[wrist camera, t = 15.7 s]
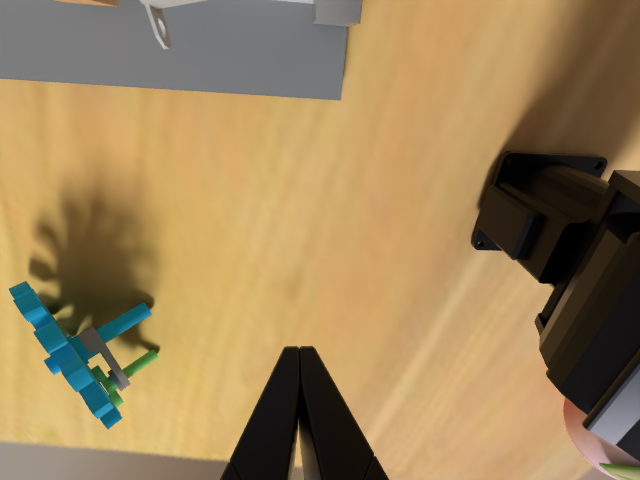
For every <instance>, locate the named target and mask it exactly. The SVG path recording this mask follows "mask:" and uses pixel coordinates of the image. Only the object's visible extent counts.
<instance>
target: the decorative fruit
mask: <svg viewBox="0 0 640 480" xmlns="http://www.w3.org/2000/svg"><path fill="white" fill-rule="evenodd" d="M563 412H564V420H565V425H566V429H567V431H568V434H569V436H570V438H571V440H572V442H573V443H574V445H575V446H576V448H577V449H578V451H579V452H580V453H581V454H582V455H583V456H584V457H585V458H586V459H587V460H588V461H589V462H590V463H591V464H592V465H593V466H594V467H596V468H597V469H599V470H600V471H602V472H603V473H605V474H606V475H609V476H610V477H612V478H615V479H617V480H640V462H639V461H638V460H636V459H635V458H633V457H632V456H630V455H629V454H628V453H626V452H625V451H623V450H622V449H620V448H619V447H617V446H616V445H614V444H612V443H611V442H609V441H607V440H605V439H603V438H601V437H599V436H597V435H595V434H593V433H592V432H590V431H588V430H586V429H585V428H584V427H583V425H582V422H583V420H584V419H585V418H586V416H587V415H586V414H585V413H583V412H582V411H581V410H579V409H578V408H577V407H575V406H574V405H573V404H572V403H571V402H570V401H569V400H568V399H567V398H566V397H565V401H564V409H563Z"/></svg>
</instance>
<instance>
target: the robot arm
mask: <svg viewBox="0 0 640 480" xmlns="http://www.w3.org/2000/svg"><path fill="white" fill-rule="evenodd" d="M511 157H512V158H511ZM509 158H511V161H510V162H509V163H507V160H508V159H509ZM596 163H597V165H596V166H595V164H596ZM606 165H607V160H606V158H603V157H601V156H597V155H579V154H559V153H540V152H521V151H507V152H505V153H503V154H502V155H501V156H500V158H499V161H498V164H497V167H496V170H495V173H494V175H493V178H492V181H491V184H490V187H489V188H488V190H487V192H486V195H485V198H484V201H483V204H482V207H481V210H480V213H479V216H478V219H477V222H476V224H477V225H476V228H475V231H474V234H473V237H472V240H471V244H472V246H473V247H474V248H475V249H476V250H497V251H504V252H505V253H506V254H507V255H508V256H509V257H510V258H511V259H512V260H516V261H517V262H518V263H520V264H521V265H522V266H523V267H524V268H525V269H526V270H527V271H528V272H529V273H530V274H531V275H532V276H533V277H534V278H535V279H536V280H537V281H538V282H539V283H542V284H549V285H550V286H551V287H553V288H554V290H553V292H552V294H551V296H550V298H549V299H548V301H547V303H546V305H545V307H544V309H543V311H542V313H539V314H538V315H537V317H536V319H535V325H536V327H537V330H538V332H539V335H540V345H539V350H540V352H541V354H542V357H543V359H544V361H545V364H546V366H547V367H548V370H547V371H546V375H547V377H548V378H549V379H550V381H551V382H552V383H553V384H554V385H555V387H556V388H557V389H558V390H559V391H560V393H561V394H562V395H563V396H565V397H566V398H567V399H568V400H569V401H570V402H571V403H572V404H573V405H574V406H575V407H577V408H578V409H579V410H581V411H582V412H583V413H585V414H586V415H587V416H586V418H585V419H584V420H583V422H582V425H583V427H584V428H585V429H586V430H588V431H590V432H592V433H593V434H595V435H597V436H599V437H601V438H603V439H605V440H607V441H609V442H611V443H612V444H614V445H616V446H617V447H619V448H620V449H622V450H623V451H625V452H626V453H628V454H629V455H630V456H632V457H633V458H635V459H636V460H638V461H639V462H640V171H626V170H614V171H613V173H612V175H611V177H610V179H609V181H608V182H607V181H605V180H603V179H600V177H601V175H602V173H603V172H604V170H605V168H606ZM594 166H595V167H594ZM481 240H482V242H481V243H479V244H478V242H479V241H481ZM298 425H299V438H300V447H301V455H302V464H303V472H304V480H389V478H388V477H387V475H386V473H385V472H384V470H383V468H382V466H381V465H380V463H379V461H378V459H377V457H376V456H374V452H373V451H372V449H371V447H370V445H369V443H368V442H367V440H366V438H365V436H364V435H363V433H362V431H361V429H360V427H359V426H358V424H357V422H356V420H355V418H354V417H353V415H352V413H351V411H350V410H349V408H348V406H347V404H346V402H345V401H344V399H343V397H342V395H341V394H340V392H339V390H338V388H337V386H336V385H335V383H334V381H333V379H332V378H331V376H330V374H329V372H328V370H327V369H326V367H325V365H324V363H323V361H322V360H321V358H320V356H319V354H318V353H317V351H316V349H315V348H314V347H313V346H301V347H300V348H299V347H297V346H286V347H284V349H283V351H282V353H281V355H280V357H279V359H278V361H277V363H276V365H275V367H274V369H273V371H272V373H271V375H270V378H269V380H268V382H267V384H266V386H265V388H264V390H263V392H262V394H261V396H260V398H259V400H258V402H257V404H256V406H255V409H254V411H253V413H252V415H251V417H250V419H249V421H248V423H247V425H246V427H245V429H244V431H243V433H242V435H241V437H240V440H239V442H238V444H237V446H236V448H235V450H234V452H233V454H232V456H231V458H230V462H229V463H228V464H227V466H226V468H225V470H224V472H223V475H222V476H221V479H220V480H292V479H293V470H294V461H295V452H296V443H297V433H298Z"/></svg>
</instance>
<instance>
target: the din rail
mask: <svg viewBox="0 0 640 480" xmlns="http://www.w3.org/2000/svg"><path fill="white" fill-rule="evenodd" d="M117 1H118V6H119V7H115V6H103V5H91V4H80V3H68V2H61V1H56V0H0V79H14V80H30V81H46V82H61V83H77V84H93V85H108V86H124V87H140V88H155V89H171V90H187V91H202V92H218V93H234V94H249V95H265V96H281V97H296V98H312V99H328V100H341V92H342V82H343V71H344V60H345V49H346V38H347V27H351V26H354V25H356V24H359V23H360V20H361V10H362V1H363V0H206V1H200V2H195V3H189V4H184V5H178V6H173V7H167V8H162V11H163V15H164V18H165V22H166V25H167V28H168V32H169V35H170V42H171V47H170V48H169V49H163V47H162V46H161V44H160V43H159V41H158V40H157V38H156V37H155V34H154V31H153V28H152V25H151V22H150V19H149V16H148V13H147V10H146V7H145V5H144V4H142V3H141V1H140V0H117ZM158 27H159V29H160V31H161V34H162V36H163V32H162V29H161V27H160V25H159V22H158ZM163 38H164V37H163Z"/></svg>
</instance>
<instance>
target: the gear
mask: <svg viewBox="0 0 640 480" xmlns="http://www.w3.org/2000/svg"><path fill="white" fill-rule="evenodd" d="M9 291H10V293H11V295H12V296H13V297H14V299H15V300H13V301H14V303H15V304H16V306H17V307H18V309H19V311H20V312H21V313H22V315H23V316H24V317H25V319H26V320H27V321H28V322H29V321H30V322H31V324H32V325H33V326H34V327H35V329H36V331H34V332H33V333H34V335H35V336H36V337H37V339H38V340H39V342H40V343H41V345H42V346H43V347H44V349H45V350H46V351H47V353H48V354H50V356H51V357H49V358H47V359H46V360H44V362H45V364H46V365H47V367H48V368H49V369H50V371H51V372H52V373H53V374H54V375H55V374H56V373H58V372H59V371H61V372H62V374H63V376H64V377H65V379H66V380H67V381H68V383H69V384H70V385H71V386H72V388H73V389H74V390H75V391H76V392H78V391H79V393H80V394H81V396H82V397H83V399H84V401H85V403H86V404H87V406H88V408H89V409H90V411H91V412H92V413H93V415H94V416H95V417H96V418H97V419H99V418H100V420H101V421H102V423H103V424H104V425H105V427H106V428H107V429H109V428H110V427H112V426H113V425H114V424H115V423H117V422H118V421H119V420H121V419H122V417H121V414H120V412H119V411H118V409H117V408H116V407H118V406H119V405H120V404H122V403H123V402H124V401H123V400H122V399H121V397H120V396H119V394H118V393H117V391H116V390H115V389H117V388H119V389H120V391H122V390H123V389H124V388H126V387H127V386H129V385H130V382H129V381H128V378H129V377H130V376H132V375H133V374H135V373H136V372H137V371H139V370H140V369H142V368H143V367H145V366H146V365H147V364H149V363H150V362H152V361H153V360H154V359H156V358H157V357H158V355H157V354H156V352H155V351H154V350H153V349H152V350H151V351H149V352H148V353H146V354H145V355H143V356H142V357H140V358H139V359H137V360H136V361H134V362H133V363H132V364H130V365H129V366H127V367H126V368H124V369H123V370H121V368H120V366H119V365H118V363H117V362H116V360H115V359H114V357H113V355H112V354H111V352H110V351H109V349H108V347H107V346H106V344H105V343H106V342H108V341H110V340H111V339H113V338H114V337H116V336H118V335H119V334H121V333H123V332H124V331H126V330H127V329H129V328H131V327H132V326H134V325H136V324H137V323H139V322H140V321H142V320H144V319H145V318H147V317H148V316H150V315H151V312H150V310H149V308H148V307H147V306H146V304H145V303H141V304H140V305H138V306H136V307H134V308H133V309H131V310H129V311H128V312H126V313H124V314H122V315H121V316H119V317H117V318H116V319H114V320H112V321H111V322H109V323H107V324H105V325H104V326H102V327H100V328H99V329H97V330H95V329H94V327H93V326H92V327H91V328H89V329H87V330H85V331H84V332H82V333H80V334H78V335H77V336H75V337H73V338H72V337H71V336H67V335H66V334H65V332H64V331H63V330H62V329H61V327H60V326H59V325H58V323H57V322H56V320H55V318H54V317H53V316H52V314H51V313H50V311H49V310H48V309H47V307H46V306H45V305H44V304H43V303H42V301H41V300H40V298H39V297H38V295H37V294H36V293H35V291H34V290H33V289H31V287H30V286H29V284H28V283H27V282H26V281H25V282H23V283H21V284H18V285H16V286H14V287H12V288H9ZM99 352H100V353H101V354H102V356H103V357H104V359H105V360H106V362H107V363H108V365H109V366H110V368H111V369H112V370H110V371H109V372H108V374H109V375H110V376H109V377H108V378H107V377H106V376H105V374H104V373H103V371H102V370H101V369H100V367H99V366H98V365H97V366H96V367H94V368H93V369H90V368H89V366H88V365H87V364H88V363H89V362H88V359H90V358H91V357H93V356H95V355H96V354H98V353H99ZM100 382H101V383H102V385H103V386H104V387H105V389H106V390H107V392H108V393H109V395H108V394H107V392H106V391H105V390H104V388H103V387H102V385H101V384H100Z"/></svg>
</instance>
